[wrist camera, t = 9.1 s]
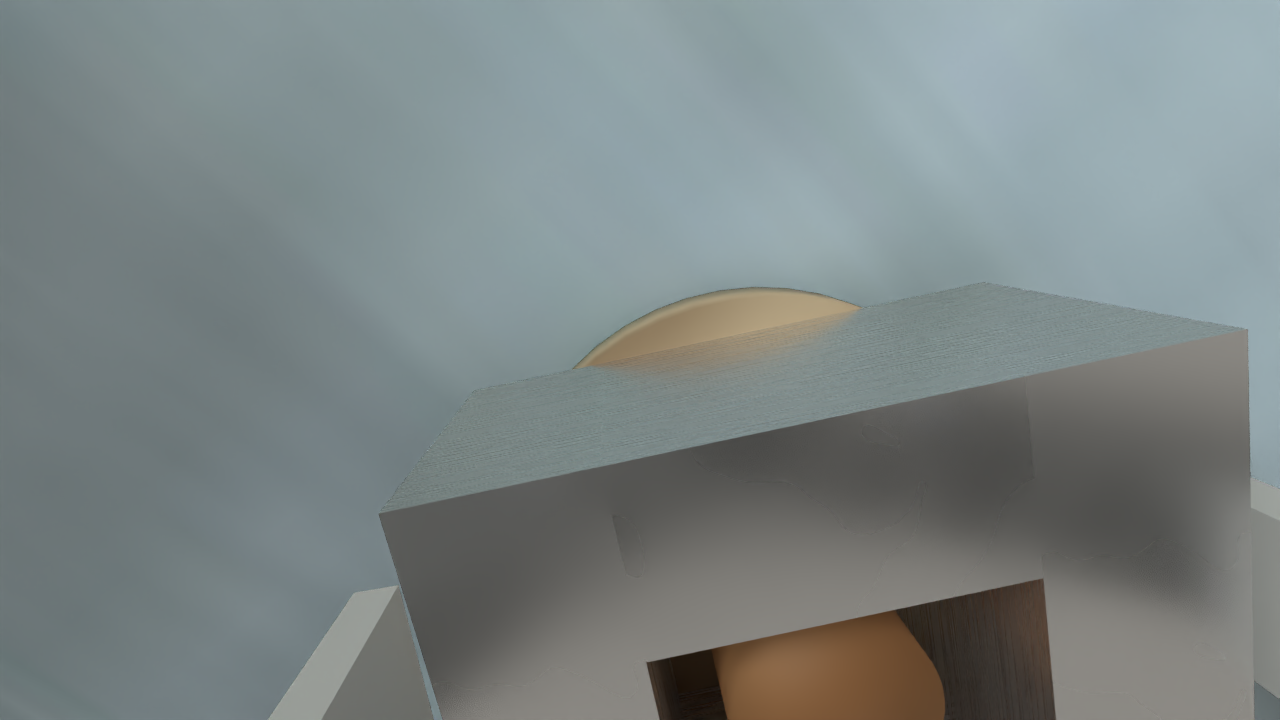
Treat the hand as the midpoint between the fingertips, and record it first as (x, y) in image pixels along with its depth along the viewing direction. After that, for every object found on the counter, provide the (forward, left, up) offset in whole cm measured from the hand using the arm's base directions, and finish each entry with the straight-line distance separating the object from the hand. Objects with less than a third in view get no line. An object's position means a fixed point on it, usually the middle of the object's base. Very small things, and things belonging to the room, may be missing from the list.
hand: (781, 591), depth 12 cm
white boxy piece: (0, 0, -1) cm, 1 cm away
